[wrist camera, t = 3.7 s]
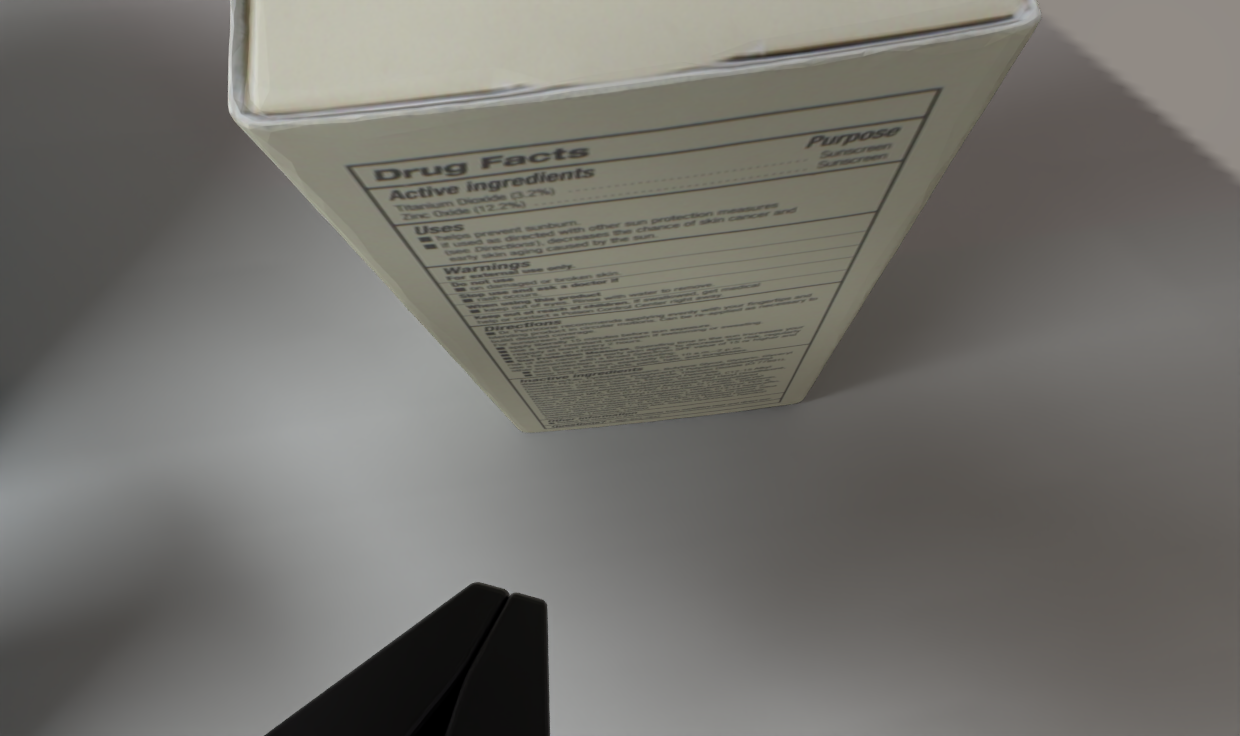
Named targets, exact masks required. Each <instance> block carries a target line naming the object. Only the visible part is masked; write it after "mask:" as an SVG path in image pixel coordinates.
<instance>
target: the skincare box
mask: <svg viewBox="0 0 1240 736" xmlns="http://www.w3.org/2000/svg"><path fill="white" fill-rule="evenodd" d="M1041 18H1042V17H1041V11H1040V8H1039V4H1038V1H1037V0H230V38H229V58H228V108H229V113H230V114H231V116H232V118H233V119H234V121H235V122H236V123H237V124H238V126H239V127H240V128H241V129H242V130H243V131H244V132H245V133H246V134H247V135H248V136H249V137H250V138H251V139H252V140H253V141H254V143H255V144H256V145H257V146H258V147H259V148H260V149H261V150H262V151H263V152H264V153H265V154H266V155H267V156H268V157H269V158H270V159H271V161H272V162H273V163H274V164H275V165H276V166H277V167H278V168H279V169H280V170H281V171H282V172H283V173H284V174H285V175H286V177H287V178H288V179H289V180H290V181H291V182H292V183H293V184H294V185H295V186H296V188H297V189H298V190H299V191H300V192H301V193H302V194H303V195H304V196H305V197H306V198H307V200H308V201H309V202H310V203H311V204H312V205H313V206H314V208H315V209H316V210H317V211H318V212H319V213H320V214H321V215H322V216H323V217H324V218H325V219H326V220H327V221H328V222H329V223H330V224H331V225H332V226H333V227H334V228H335V229H336V231H337V232H338V233H339V234H340V235H341V236H342V237H343V238H344V239H345V240H346V242H347V243H348V244H349V245H350V246H351V247H352V248H353V249H354V250H355V251H356V253H357V254H358V255H359V256H360V257H361V258H362V259H363V260H364V261H365V262H366V264H367V265H368V266H369V267H370V268H371V269H372V270H373V271H374V272H375V273H376V274H377V275H378V277H379V278H380V279H381V280H382V281H383V282H384V283H385V284H386V285H387V286H388V287H389V288H390V290H391V291H392V292H393V293H394V294H395V295H396V296H397V297H398V299H399V300H400V301H401V302H402V303H403V304H404V306H405V307H406V308H407V309H408V310H409V311H410V312H411V313H412V314H413V315H414V316H415V317H416V318H417V319H418V320H419V321H420V323H421V324H422V325H423V326H424V327H425V328H426V329H427V330H428V331H429V332H430V333H431V334H432V336H433V337H434V338H435V339H436V340H437V341H438V342H439V343H440V344H441V345H442V346H443V347H444V348H445V350H446V351H447V352H448V353H449V354H450V356H451V357H452V358H453V359H454V360H455V361H456V362H457V363H458V364H459V365H460V366H461V367H462V368H463V369H464V370H465V371H466V372H467V374H468V375H469V376H470V377H471V378H472V379H473V381H474V382H475V383H476V384H477V385H478V386H479V387H480V388H481V389H482V390H483V392H484V393H485V394H486V395H487V396H488V397H489V398H490V399H491V400H492V401H493V402H494V403H495V404H496V405H497V406H498V408H499V409H500V410H501V411H502V412H503V413H504V414H505V415H506V416H507V417H508V418H509V419H510V421H511V422H512V423H513V424H514V425H515V426H516V427H517V428H518V429H519V430H520V431H522V432H525V433H534V432H547V431H559V430H570V429H581V428H593V427H603V426H612V425H622V424H631V423H642V422H652V421H660V420H668V419H677V418H686V417H696V416H705V415H713V414H720V413H729V412H738V411H745V410H752V409H759V408H766V407H773V406H781V405H789V404H795V403H798V402H800V401H802V400H803V399H804V398H805V396H806V395H807V394H808V392H809V390H810V389H811V387H812V385H813V384H814V382H815V381H816V379H817V377H818V376H819V374H820V372H821V371H822V369H823V367H824V366H825V364H826V362H827V361H828V359H829V358H830V356H831V354H832V353H833V351H834V349H835V347H836V346H837V344H838V343H839V342H840V340H841V339H842V337H843V335H844V334H845V332H846V330H847V329H848V327H849V326H850V324H851V323H852V321H853V320H854V318H855V316H856V315H857V313H858V311H859V310H860V308H861V307H862V305H863V303H864V301H865V299H866V298H867V297H868V295H869V294H870V292H871V290H872V289H873V287H874V285H875V284H876V282H877V281H878V279H879V277H880V276H881V274H882V273H883V271H884V269H885V268H886V266H887V265H888V263H889V262H890V260H891V259H892V257H893V256H894V254H895V253H896V251H897V250H898V248H899V246H900V245H901V243H902V241H903V239H904V238H905V236H906V235H907V233H908V232H909V230H910V228H911V227H912V225H913V223H914V222H915V220H916V218H917V216H918V215H919V213H920V212H921V210H922V209H923V207H924V206H925V204H926V203H927V201H928V199H929V197H930V195H931V194H932V192H933V191H934V189H935V187H936V186H937V184H938V183H939V181H940V179H941V178H942V176H943V174H944V173H945V171H946V169H947V168H948V166H949V164H950V163H951V161H952V160H953V158H954V157H955V155H956V154H957V152H958V151H959V149H960V147H961V146H962V144H963V142H964V141H965V139H966V138H967V136H968V135H969V133H970V132H971V130H972V128H973V127H974V125H975V124H976V122H977V121H978V119H979V118H980V116H981V115H982V113H983V111H984V110H985V108H986V107H987V105H988V104H989V102H990V101H991V99H992V97H993V96H994V94H995V92H996V91H997V89H998V88H999V86H1000V84H1001V83H1002V81H1003V80H1004V78H1005V76H1006V75H1007V73H1008V71H1009V70H1010V68H1011V67H1012V65H1013V63H1014V62H1015V60H1016V59H1017V57H1018V56H1019V54H1020V52H1021V51H1022V49H1023V48H1024V46H1025V45H1026V43H1027V41H1028V40H1029V38H1030V37H1031V35H1032V34H1033V32H1034V30H1035V29H1036V27H1037V25H1038V23H1039V21H1040V20H1041Z"/></svg>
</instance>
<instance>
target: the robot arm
mask: <svg viewBox="0 0 1240 736" xmlns="http://www.w3.org/2000/svg"><path fill="white" fill-rule="evenodd" d="M264 736H550V711H549V663H548V615H547V604H546V602H545V601H544V600H542V599H538V598H535V597H531V596H527V595H524V594H520V593H513V594H511V595H509V593H508V591H507V590H505V589H502V588H498V587H495V586H491V585H488V584H484V583H480V582H476V583H472V584H470V585H469V586H467V587H466V588H465V589H463V590H462V591H461V592H459V593H458V594H457V595H455V596H454V597H452V598H451V599H450V600H448V601H447V602H446V603H444V604H443V605H442V606H440V607H439V608H437V609H436V610H435V611H433V612H432V613H431V614H429V615H428V616H427V617H425V618H424V619H422V620H421V621H420V622H418V623H417V624H416V625H414V626H413V627H412V628H410V629H409V630H407V631H406V632H405V633H403V634H402V635H401V636H399V637H398V638H397V639H395V640H394V641H392V642H391V643H390V644H388V645H387V646H386V647H384V648H383V649H382V650H380V651H379V652H377V653H376V654H375V655H373V656H372V657H371V658H369V659H368V660H367V661H365V662H364V663H363V664H361V665H360V666H358V667H357V668H356V669H354V670H353V671H352V672H350V673H349V674H348V675H346V676H345V677H343V678H342V679H341V680H339V681H338V682H337V683H335V684H334V685H333V686H331V687H330V688H328V689H327V690H326V691H324V692H323V693H322V694H320V695H319V696H318V697H316V698H315V699H313V700H312V701H311V702H309V703H308V704H307V705H305V706H304V707H303V708H301V709H300V710H298V711H297V712H296V713H294V714H293V715H292V716H290V717H289V718H288V719H286V720H285V721H284V722H282V723H281V724H279V725H278V726H277V727H275V728H274V729H273V730H271V731H270V732H269V733H267V734H266V735H264Z"/></svg>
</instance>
